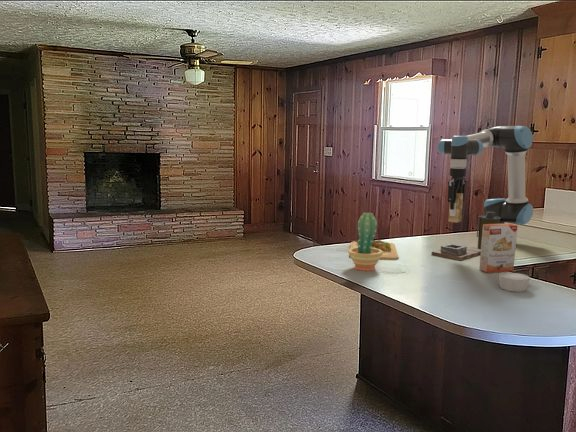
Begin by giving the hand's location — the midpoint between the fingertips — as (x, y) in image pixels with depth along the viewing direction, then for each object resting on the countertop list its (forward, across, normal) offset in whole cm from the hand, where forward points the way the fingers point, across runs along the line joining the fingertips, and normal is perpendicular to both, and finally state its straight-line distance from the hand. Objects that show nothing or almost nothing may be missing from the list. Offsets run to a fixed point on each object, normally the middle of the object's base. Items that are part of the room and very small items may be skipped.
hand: (455, 215), depth 264 cm
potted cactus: (+21, +53, -13) cm, 58 cm away
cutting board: (+21, +23, -32) cm, 45 cm away
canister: (+20, -25, +5) cm, 33 cm away
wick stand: (+20, -5, 0) cm, 21 cm away
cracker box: (+20, +12, +29) cm, 37 cm away
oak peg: (+3, 0, 0) cm, 3 cm away
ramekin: (+21, +34, +46) cm, 61 cm away
